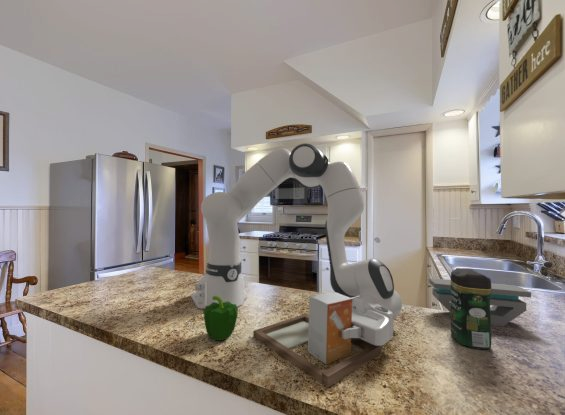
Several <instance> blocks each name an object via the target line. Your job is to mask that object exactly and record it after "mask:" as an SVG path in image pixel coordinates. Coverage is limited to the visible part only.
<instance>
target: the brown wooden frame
mask: <svg viewBox="0 0 565 415" xmlns="http://www.w3.org/2000/svg"><path fill="white" fill-rule="evenodd" d="M308 331H309V314H306V313H304V314H301V315H299V316H295V317H292V318H289V319H285V320H282V321H280V322H276V323H274V324H273V323H272V324H270V325H267V326H265V327H261V328H258V329H255V330H253V332H252V333H253V338H255V339H256V340H258V341H260V343H262V344H263V345H264V346H267V347H268V348H269V349H271V350H272V351H274V352H275V353H277V354H278V355H280V357H282V358H284V359H285V360H287V361H288V362H289V363H291V364H293V365H294V366H295V367H297V368H299V369H300V370H301V371H303V372H304V373H306V374H307V375H309V376H310V377H311V378H313V379H315V380H316V381H317V382H319V383H320V384H322V385H323V386H325V387H326V388H330V387H331V386H333V385H334V384H337V382H340V381H341V380H342V379H344V378H345V377H347V376H349V375H350V374H352V373H353V372H355V371H356V370H358V369H360V368H361V367H364V365H366V364H368V363H369V362H371V361H373V360H374V359H376V358H377V357H379V356H381V355H382V346H376V345H373V344H371V343H368V342H366V341H364V340H362V339H359V338H351V345H353V346H356V347H357V348H360V349H361V350H360V351H358V352H356V353H355V354H353V355H351V356H350V357H347V358H346V359H344V360H342V361H341V362H339V363H337V364H335V365H333V366H332V367H330V368H328V369H326V370H324V369H323V368H321V367H319V366H317V365H316V364H314V363H313V362H311V361H310V360H308V359H306V358H305V357H303V356H301V355H300V354H298V353H297V352H295V351H294V350H292V349H294V348H296V347H298V346H301V345H303V344H305V343H308Z"/></svg>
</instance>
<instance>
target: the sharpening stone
mask: <svg viewBox="0 0 565 415" xmlns="http://www.w3.org/2000/svg"><path fill="white" fill-rule="evenodd" d="M428 284H430V285H431V286H432V289H431V291H432V292H431V294H432V295H433V297H434V298H435V299H436V300H437V301H438V302H439V303H440V304H441V305H442V306H443V307H444V308H445V309H446V310H447V311H448V312H449V313H450V314H451V279H444V278H434V277H433V278H432V277H428ZM491 287H492V288H491V297H490V317H491V326H497V327H505V326H506V325H508V324H509V323H510V322H512V321H513V320H515V319H516V318H518V317H520V315H522V314H524V313H525V312H527V302H525V301H523V300H521V299H520V298H521V297H523V298H532V292H531V291H529V290H527V289H524V288H523V287H520V286H519V285H517V284H513V285H512V284H505V283H503V284H502V283H493V282H491ZM519 297H520V298H519Z"/></svg>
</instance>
